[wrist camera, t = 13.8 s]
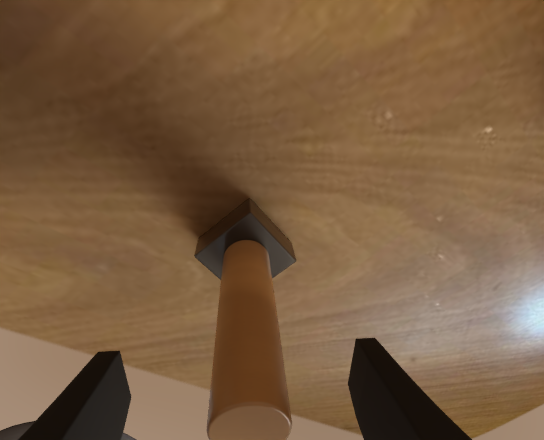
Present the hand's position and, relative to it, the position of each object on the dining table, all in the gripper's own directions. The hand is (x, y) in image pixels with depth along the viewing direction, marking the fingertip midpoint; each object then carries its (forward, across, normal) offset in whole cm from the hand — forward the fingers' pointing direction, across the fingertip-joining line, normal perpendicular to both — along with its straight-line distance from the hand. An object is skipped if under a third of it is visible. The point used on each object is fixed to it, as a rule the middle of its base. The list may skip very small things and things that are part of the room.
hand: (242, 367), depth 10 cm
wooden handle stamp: (+6, 0, -1) cm, 7 cm away
